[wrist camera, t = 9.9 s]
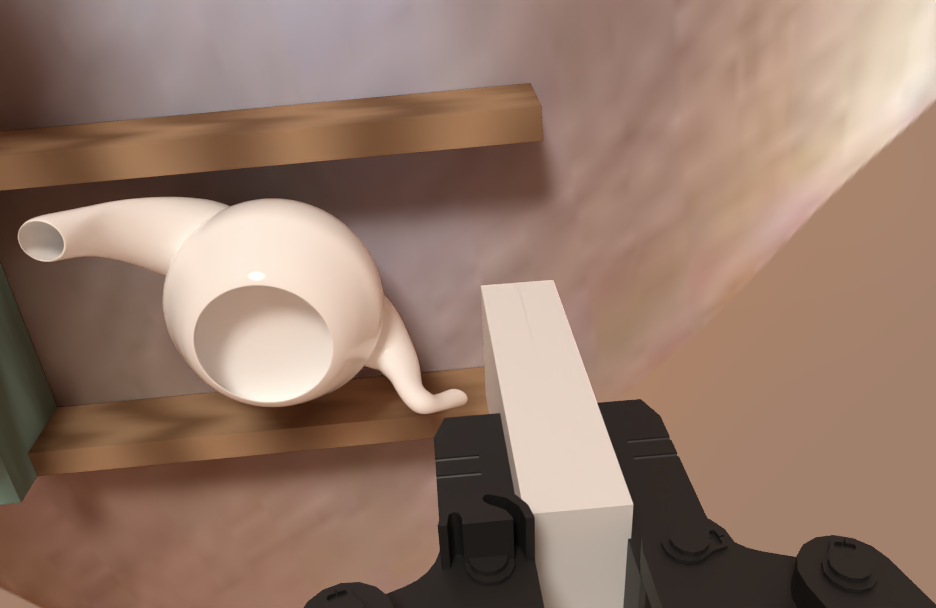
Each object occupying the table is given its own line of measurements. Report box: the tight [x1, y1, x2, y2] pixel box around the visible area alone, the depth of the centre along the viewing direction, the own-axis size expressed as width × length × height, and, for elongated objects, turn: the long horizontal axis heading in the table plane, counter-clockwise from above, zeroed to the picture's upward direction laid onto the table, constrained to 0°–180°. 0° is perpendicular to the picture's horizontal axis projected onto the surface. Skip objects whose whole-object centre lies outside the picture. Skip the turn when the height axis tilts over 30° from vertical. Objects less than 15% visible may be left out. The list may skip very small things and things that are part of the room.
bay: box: [0, 83, 543, 505], centre depth 38 cm, size 29×17×9 cm, turn 94°
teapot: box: [18, 197, 468, 414], centre depth 38 cm, size 10×20×9 cm, turn 58°
